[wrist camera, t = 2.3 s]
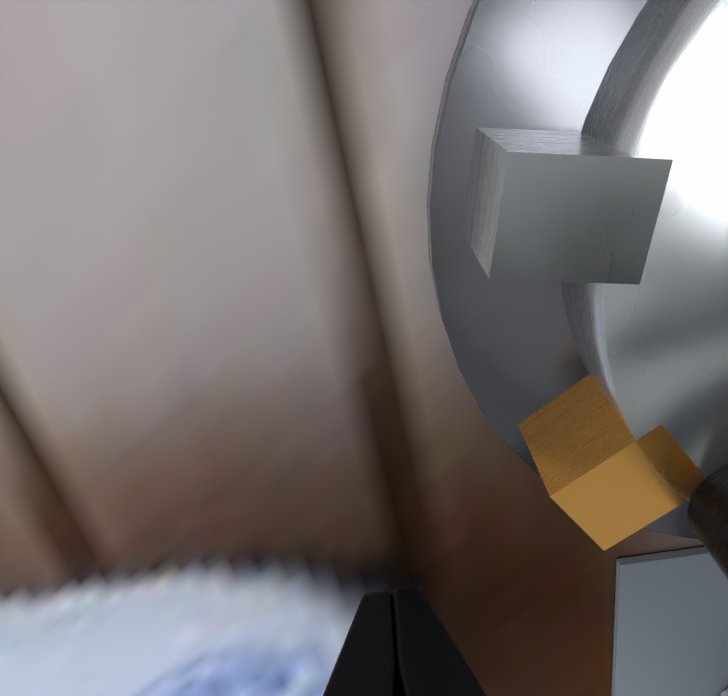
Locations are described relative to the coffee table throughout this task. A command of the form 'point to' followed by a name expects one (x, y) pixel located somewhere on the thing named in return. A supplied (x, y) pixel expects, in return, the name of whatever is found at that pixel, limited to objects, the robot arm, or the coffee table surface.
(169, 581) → the coffee table surface
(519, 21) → the sprocket base
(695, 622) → the slate mat
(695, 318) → the sprocket
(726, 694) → the mineral specimen
